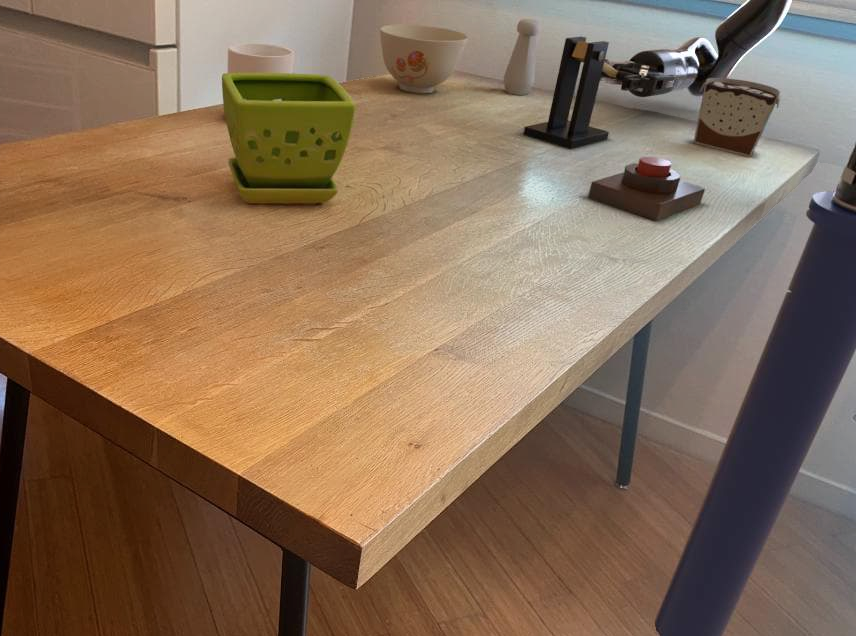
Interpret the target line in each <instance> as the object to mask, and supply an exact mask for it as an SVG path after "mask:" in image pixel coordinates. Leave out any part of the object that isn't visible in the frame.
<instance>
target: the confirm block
mask: <svg viewBox="0 0 856 636" xmlns="http://www.w3.org/2000/svg"><path fill="white" fill-rule="evenodd" d="M637 167H638V163H630V164H626V165H625V166H624V170H623V172H620V173H617V174H613V175H609V176H606V177H603V178H599V179H597V180H593V181H591V183H590V187H589V191H588V195H587V198H588V199H590V200H594V201H596V202H600V203H601V204H605V205H608V206H611V207H614V208H617V209H620V210H623V211H625V212H629V213H632V214H634V215H637V216H641V217H642V218H643V217H644V218H647V219H649V220H653V221H655V222H656V221H660V220H662V219H664V218H668V217H670V216H672V215H675V214H678V213H681V212H683V211H685V210H688V209H691V208H693V207H696V206H700V205H701V203H702V200H703V197H704V193H705V190H706V188H705V187H703V186H700V185H699V186H698V185H696V184H694V183H693V184H692V183H689V182H685V181H683V180H681V174H680V173H679V172H677V171H675V170H673V169H672V168H670V171H669V175H668V177H654V176H648V175H645V174H642V173H639V172H637Z"/></svg>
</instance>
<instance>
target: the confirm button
mask: <svg viewBox="0 0 856 636" xmlns="http://www.w3.org/2000/svg"><path fill="white" fill-rule="evenodd" d="M637 164H638V167H637V172H639V173H642V174H645V175H648V176H654V177H668V175H669V171H670V169H672V165H673V163H672V162H670V161H669V160H667V159H665V158H661V157H655V156H642V157H640V158H639V160H638V163H637Z"/></svg>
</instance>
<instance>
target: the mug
mask: <svg viewBox="0 0 856 636" xmlns="http://www.w3.org/2000/svg"><path fill="white" fill-rule="evenodd" d="M296 60H297V59H296V55H295V51H294V50H293V49H291V48H288V47H284V46H280V45H275V44H266V43H250V42H249V43H237V44H236V43H235V44H232V45H229V46H228V47H227V73H287V74H296V62H297V61H296ZM243 100H247V99H243ZM273 101H282V99H274V100H273Z"/></svg>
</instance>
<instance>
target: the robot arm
mask: <svg viewBox="0 0 856 636" xmlns="http://www.w3.org/2000/svg"><path fill="white" fill-rule="evenodd" d="M792 1H793V0H747V1H745V2H744V3H743V4H742V5H741V6H740V7H739V8H737V9H736V10H735V11H733V13H731V14H730V15H729V16H728V17H727V18H726V19H725V20H723V21H722V22H721V23H720V24H719V25H718V26H717V28H715V32H714V39H715V40H714V41H715V44H716V47H717V52H718V53H717V52H716V51H715V49H714V47H713V46H712V44H711V43H710V41H709V40H708V39H706V38H704V37H701V36H697V37H694V38H691V39H689V40H687V41H686V42H684V43H683V44H682V45H681V46H679V47H678V48H676V49H668V48H661V49H650V50H643V51H640V52H637V53H636V54H634V55H633V56H632V57H631V58H630V59H629V60H625V61H610V60H609V59H608V58H605V61H604V62H606V63H607V64H609V65H610V66H611V67H613V68H614V69H615V70H618V71H622V72H626V73H631V74H634V75H628V76H625V77H624V79H623V81H618V80H614V79H610V78H606V77H602V76H601V78H600V82H605V83H607V84H608V85H616V86H617V85H619V86H621V87H620V90H621V91H625V92H629V93H630V94H631V95H633V96H635V97H638V98H647V97H654V96H660V95H665V94H668V93H671V92H676V91H681V90H684V89H687V91H688V93H689V94H690V95H691V96H692V97H695V98H702V97H703V92H704V91H702V92H700V89H701V88H702V86H703V84H704V83H705V82H706V80H707V79H709V78H728V77H729V76H730V75H731V73H732V72H733V70H734V69H735V68H736V66H737V65H738V64H739V62H741V60H742V59H743V58H744V57H745V56H746V54H748V53H749V52H750V51H751V50H753V48H755V47H756V46H758V45H759V44H760V43H762V41H764V40H765V39H766V38H767V37H769V36H770V35H771V34H772V33H774V32H775V30H776V29H777V28H778V27H779V26H780V25H781V23H782V22H783V20H784V18H785V17H786V15H787V13H788V11H789V9H790V6H791V3H792ZM834 191H835V193H834V194H833V197H832V199H831V201H832V203H833V204H834V205H836V206H837V207H839V208H841V209H843V210H846V211H848V212H851V213H854V214H856V141H855V142H854V144H853V147H852V150H851V152H850V155H849V157H848V159H847V162H846V165H845V166H844V168H843V171H842V173H841V176H840V179H839V181H838V183H837V186H836V189H835V190H834Z"/></svg>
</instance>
